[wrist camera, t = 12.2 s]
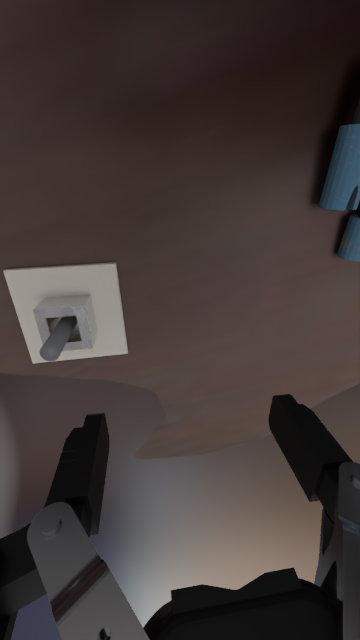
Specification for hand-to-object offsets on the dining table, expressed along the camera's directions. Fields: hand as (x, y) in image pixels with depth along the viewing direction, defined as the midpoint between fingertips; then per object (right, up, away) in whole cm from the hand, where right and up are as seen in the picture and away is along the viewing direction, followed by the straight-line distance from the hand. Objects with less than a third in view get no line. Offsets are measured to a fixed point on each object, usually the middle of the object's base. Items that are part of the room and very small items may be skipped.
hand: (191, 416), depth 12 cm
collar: (-16, +5, +24) cm, 29 cm away
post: (-16, +5, +25) cm, 30 cm away
